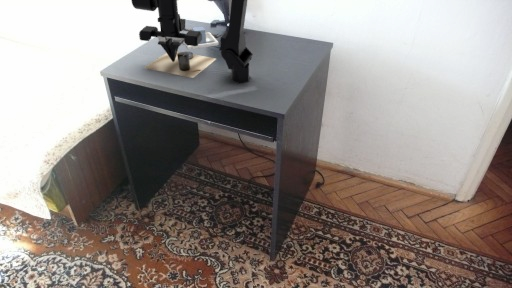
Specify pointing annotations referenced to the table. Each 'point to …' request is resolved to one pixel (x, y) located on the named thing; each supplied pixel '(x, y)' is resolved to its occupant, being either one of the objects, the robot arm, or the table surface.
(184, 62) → the crank
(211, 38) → the tray
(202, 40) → the block
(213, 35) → the tactical tomahawk
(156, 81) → the table surface
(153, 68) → the crank plate
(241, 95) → the table surface
